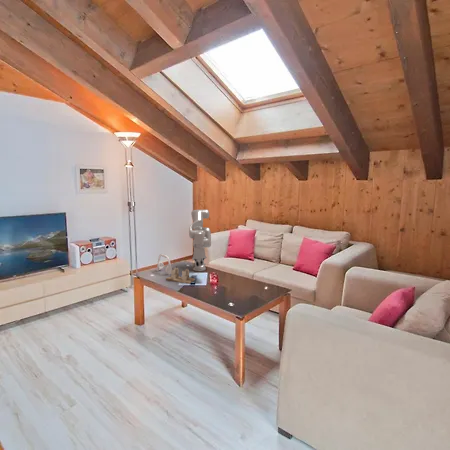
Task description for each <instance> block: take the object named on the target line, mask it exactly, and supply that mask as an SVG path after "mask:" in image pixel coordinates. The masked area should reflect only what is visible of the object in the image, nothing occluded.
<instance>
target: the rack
mask: <svg viewBox="0 0 450 450" xmlns="http://www.w3.org/2000/svg"><path fill="white" fill-rule="evenodd" d="M194 280H195V281H196V278H195V277H194V278H193V277H190V270H189V267H186V269H184V268H183V269H182V271H181V276H180V273H179V268H178V265H176V266H175V267H172V270H171V274H170V276H169V277H166V278H165V281H169V282H175V283H182V284H187V285H188V284H191V283H193V282H195V281H194Z"/></svg>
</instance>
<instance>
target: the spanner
mask: <svg viewBox="0 0 450 450" xmlns="http://www.w3.org/2000/svg"><path fill="white" fill-rule="evenodd" d="M195 264H196V261H195V262H194V265H195ZM198 267H199V270H204V269H205V268H206V265H203V264H202V263H201V262H200V261H199V260H198ZM204 271H205V270H204Z"/></svg>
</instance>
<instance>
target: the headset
mask: <svg viewBox="0 0 450 450" xmlns="http://www.w3.org/2000/svg"><path fill="white" fill-rule="evenodd" d="M161 257H163V258H167V262H168V265H167V266H165V273H167V275H168V276H169V275H170V276H171V270H172V268H173V267H172V264H171V260H170V257H169V256H168V255H166V254H165V253H164V254H163V253H161V254H159V256H158V258H157V259H158V261H157V264H156V267H157V269H156V272H159V271H160V270H163V268H164V262H162V261H161Z"/></svg>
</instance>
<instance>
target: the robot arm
mask: <svg viewBox="0 0 450 450" xmlns="http://www.w3.org/2000/svg"><path fill="white" fill-rule="evenodd" d="M209 218H210V211H209V209H194V210H192V211H191V219H192V223H191V225H190V226H189V228H188V233H189V234H188V235H189V238H190V239H193V240H192V244H193V245H192V246H193V255H192V257H191V260H192V261H194V267H193V268H192V270H193V271H194V272H203V271H206V269H207V268H206V267H205V269H204V270H199V267H198V260H199V261H200V262H201V263H202V264H203V265H205V266H206V263H205V259H207V256H206V249H205V248H210V247H211V246H212V234H211V229H210V227H206V226H205V227H204V219H209ZM195 261H196V264H195Z"/></svg>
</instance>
